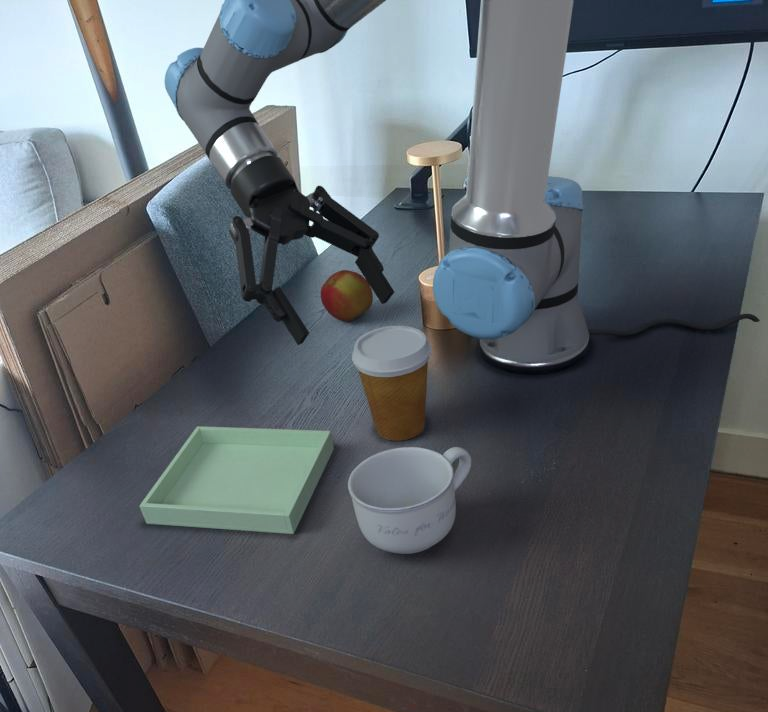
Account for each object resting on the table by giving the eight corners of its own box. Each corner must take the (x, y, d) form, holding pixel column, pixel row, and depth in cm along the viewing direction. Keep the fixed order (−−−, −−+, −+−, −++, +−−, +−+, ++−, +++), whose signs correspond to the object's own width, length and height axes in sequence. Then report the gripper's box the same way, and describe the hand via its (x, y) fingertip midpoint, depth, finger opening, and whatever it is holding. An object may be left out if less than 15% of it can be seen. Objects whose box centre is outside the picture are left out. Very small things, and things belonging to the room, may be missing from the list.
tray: (334, 448, 95) (330, 430, 93) (293, 534, 83) (288, 515, 82) (202, 443, 100) (196, 426, 98) (146, 523, 88) (138, 505, 86)
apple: (339, 307, 127) (331, 260, 122) (382, 311, 124) (376, 263, 119) (317, 327, 122) (308, 280, 117) (362, 332, 119) (355, 283, 114)
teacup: (381, 582, 76) (371, 522, 71) (343, 522, 84) (331, 463, 79) (503, 535, 79) (502, 474, 74) (455, 481, 87) (451, 422, 82)
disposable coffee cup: (420, 399, 102) (412, 316, 94) (449, 434, 95) (443, 348, 87) (353, 419, 100) (339, 336, 92) (378, 457, 93) (365, 370, 85)
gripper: (323, 165, 103) (408, 296, 103) (161, 223, 92) (257, 370, 92) (342, 126, 96) (433, 267, 96) (169, 184, 85) (272, 343, 85)
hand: (347, 318), depth 94 cm, fingers open, 13 cm apart
